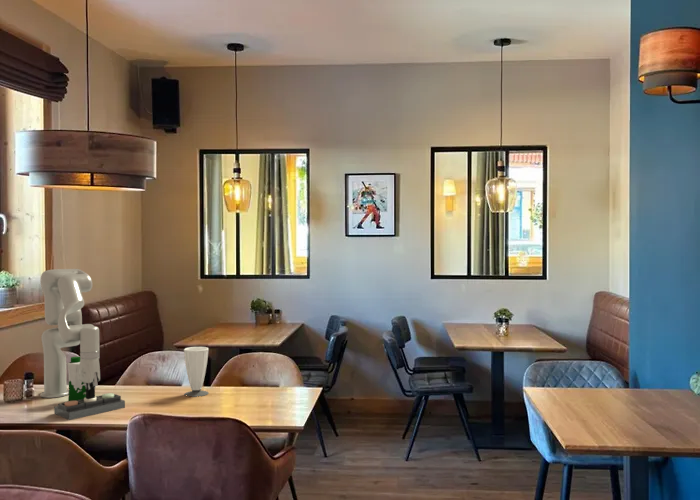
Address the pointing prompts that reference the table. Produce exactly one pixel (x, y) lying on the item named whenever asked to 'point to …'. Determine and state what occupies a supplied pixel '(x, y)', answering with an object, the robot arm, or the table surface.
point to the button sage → (107, 395)
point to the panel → (89, 407)
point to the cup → (196, 369)
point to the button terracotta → (71, 403)
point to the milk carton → (75, 381)
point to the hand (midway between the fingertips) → (90, 398)
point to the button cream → (90, 399)
